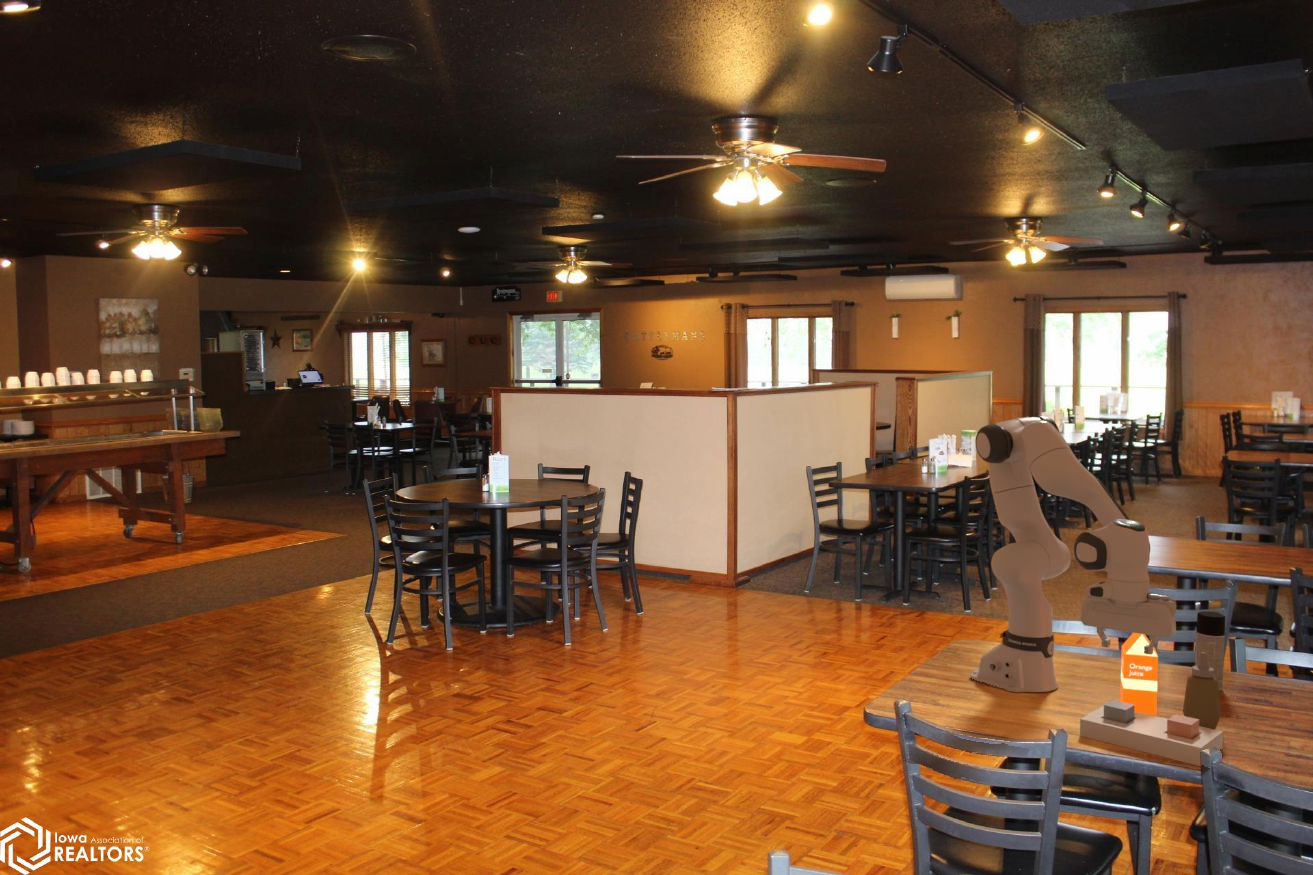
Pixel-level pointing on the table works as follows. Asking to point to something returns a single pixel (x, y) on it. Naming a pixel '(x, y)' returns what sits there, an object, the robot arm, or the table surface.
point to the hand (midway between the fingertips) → (1127, 650)
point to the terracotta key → (1183, 726)
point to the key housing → (1149, 736)
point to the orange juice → (1139, 675)
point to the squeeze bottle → (1202, 695)
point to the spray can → (1211, 641)
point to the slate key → (1119, 711)
